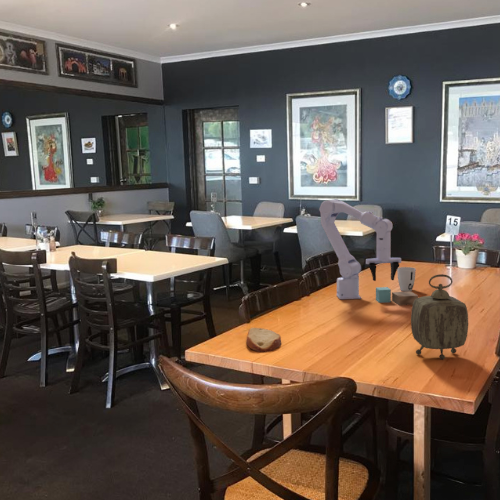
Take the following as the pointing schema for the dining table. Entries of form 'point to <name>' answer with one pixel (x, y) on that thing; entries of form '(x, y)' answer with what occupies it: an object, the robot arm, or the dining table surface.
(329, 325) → the dining table surface
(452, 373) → the dining table surface
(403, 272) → the cup
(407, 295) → the brown block
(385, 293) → the teal block
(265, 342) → the slice of bread
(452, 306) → the tabletop clock
